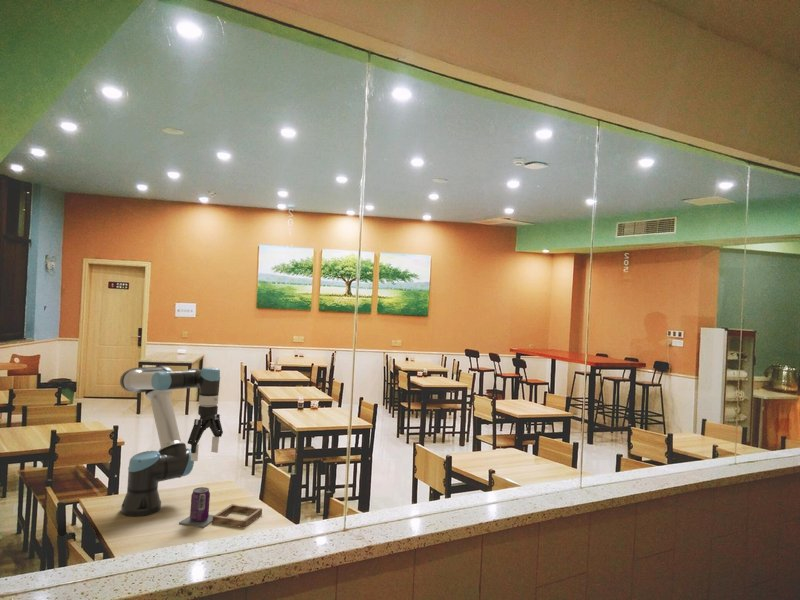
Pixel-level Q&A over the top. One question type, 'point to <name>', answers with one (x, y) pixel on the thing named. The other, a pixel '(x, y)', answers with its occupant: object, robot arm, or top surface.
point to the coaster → (197, 524)
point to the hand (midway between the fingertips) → (204, 456)
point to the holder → (222, 519)
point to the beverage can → (200, 504)
